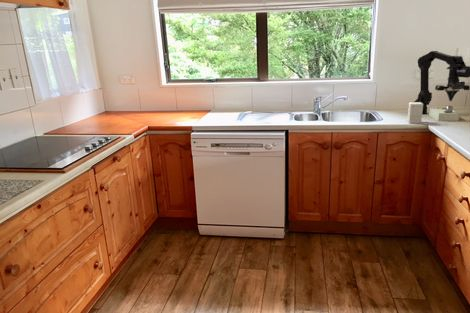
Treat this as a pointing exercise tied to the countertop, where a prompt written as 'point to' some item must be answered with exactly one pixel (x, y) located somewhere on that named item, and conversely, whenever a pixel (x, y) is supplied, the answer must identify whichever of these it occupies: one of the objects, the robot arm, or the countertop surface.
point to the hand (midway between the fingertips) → (450, 101)
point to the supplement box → (415, 112)
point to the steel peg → (449, 109)
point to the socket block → (443, 115)
